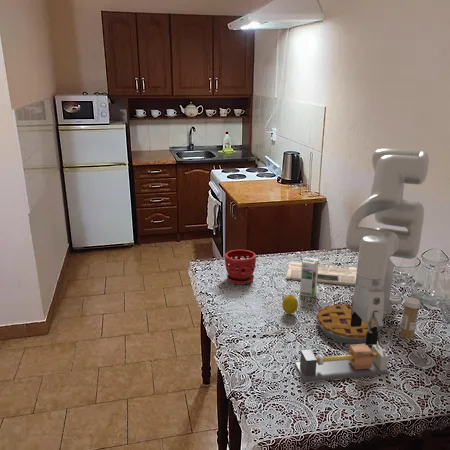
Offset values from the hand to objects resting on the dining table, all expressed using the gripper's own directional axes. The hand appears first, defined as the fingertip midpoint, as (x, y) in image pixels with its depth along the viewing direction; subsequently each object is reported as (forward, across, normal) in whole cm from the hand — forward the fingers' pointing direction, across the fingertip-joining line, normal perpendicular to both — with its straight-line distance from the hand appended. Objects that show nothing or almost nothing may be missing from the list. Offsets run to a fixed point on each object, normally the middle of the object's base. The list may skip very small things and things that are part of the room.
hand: (363, 334), depth 123 cm
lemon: (+11, +34, +11) cm, 37 cm away
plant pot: (+11, +65, +24) cm, 70 cm away
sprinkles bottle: (+11, +15, -24) cm, 30 cm away
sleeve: (+10, +1, 0) cm, 10 cm away
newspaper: (+11, +65, -17) cm, 68 cm away
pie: (+12, +22, -6) cm, 25 cm away
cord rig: (+12, +1, +5) cm, 13 cm away
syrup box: (+11, +49, -1) cm, 50 cm away
